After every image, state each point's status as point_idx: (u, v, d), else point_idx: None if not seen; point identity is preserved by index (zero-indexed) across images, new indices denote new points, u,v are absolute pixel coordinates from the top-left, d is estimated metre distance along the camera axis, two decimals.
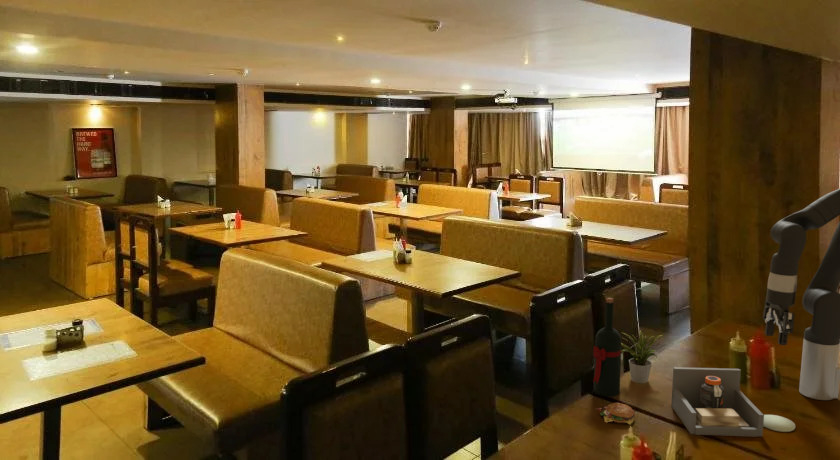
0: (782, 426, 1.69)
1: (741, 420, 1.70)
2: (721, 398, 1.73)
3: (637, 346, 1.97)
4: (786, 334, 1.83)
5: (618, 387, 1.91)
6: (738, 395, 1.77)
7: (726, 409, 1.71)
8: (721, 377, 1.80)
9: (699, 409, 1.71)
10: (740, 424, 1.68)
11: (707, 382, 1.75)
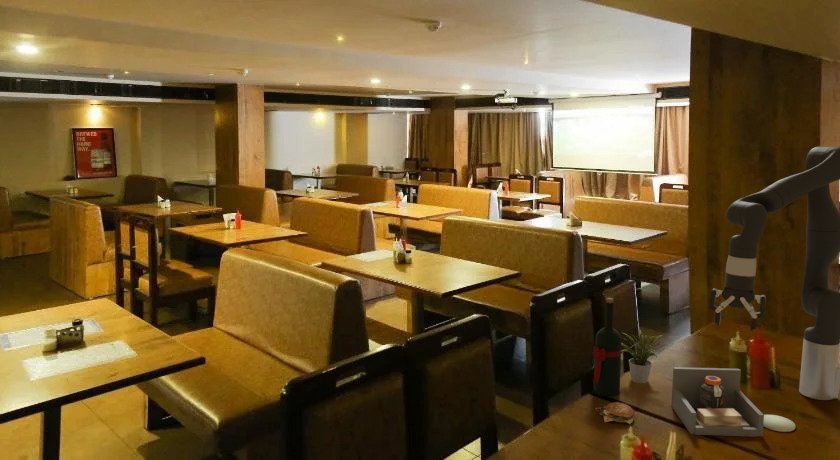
0: (782, 426, 1.69)
1: (741, 420, 1.70)
2: (721, 398, 1.73)
3: (637, 346, 1.97)
4: None
5: (618, 387, 1.91)
6: (738, 395, 1.77)
7: (727, 409, 1.71)
8: (721, 377, 1.80)
9: (701, 410, 1.71)
10: None
11: (707, 382, 1.75)
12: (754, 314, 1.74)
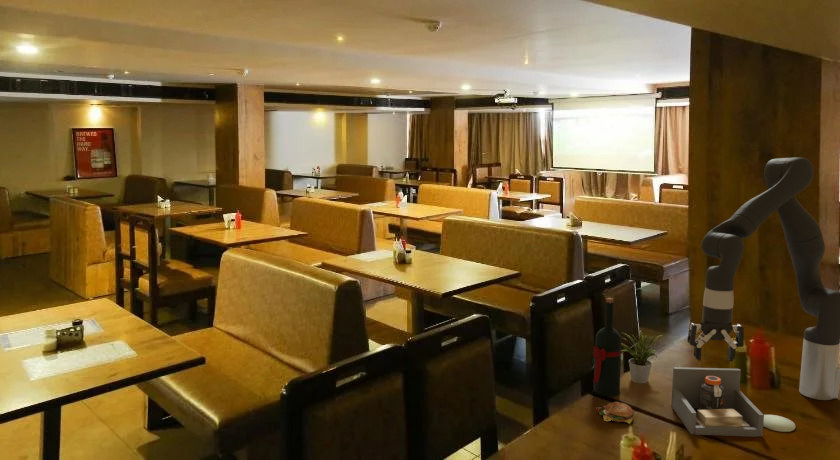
0: (782, 426, 1.69)
1: None
2: (721, 398, 1.73)
3: (637, 346, 1.97)
4: None
5: (618, 387, 1.91)
6: (738, 395, 1.77)
7: (728, 409, 1.71)
8: (721, 377, 1.80)
9: (702, 411, 1.70)
10: None
11: (707, 382, 1.75)
12: (734, 345, 1.72)
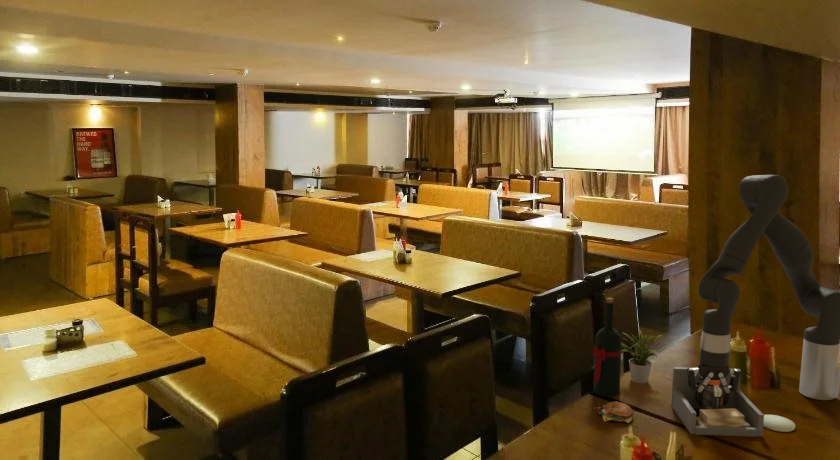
0: (782, 426, 1.69)
1: None
2: (721, 398, 1.73)
3: (637, 346, 1.97)
4: None
5: (618, 387, 1.91)
6: (738, 395, 1.77)
7: (730, 409, 1.71)
8: None
9: (704, 411, 1.70)
10: None
11: None
12: (727, 389, 1.74)
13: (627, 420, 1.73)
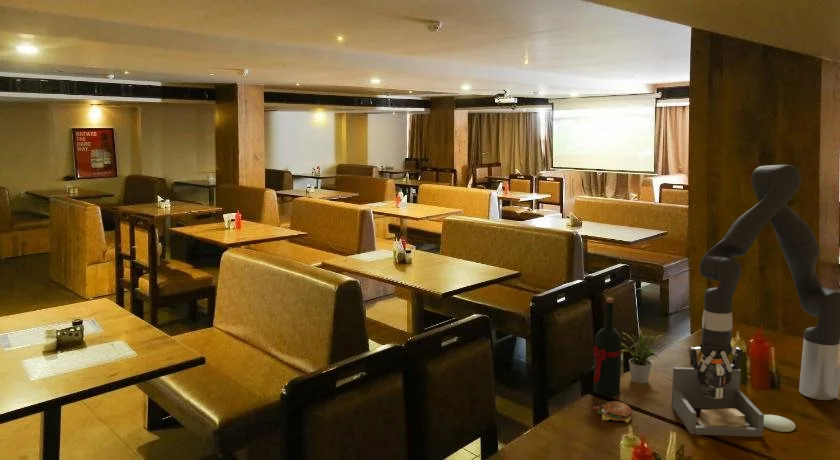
0: (782, 426, 1.69)
1: None
2: (723, 377, 1.72)
3: (637, 346, 1.97)
4: None
5: (618, 387, 1.91)
6: (738, 395, 1.77)
7: (730, 409, 1.71)
8: None
9: (705, 411, 1.70)
10: None
11: None
12: (730, 368, 1.73)
13: (626, 420, 1.74)
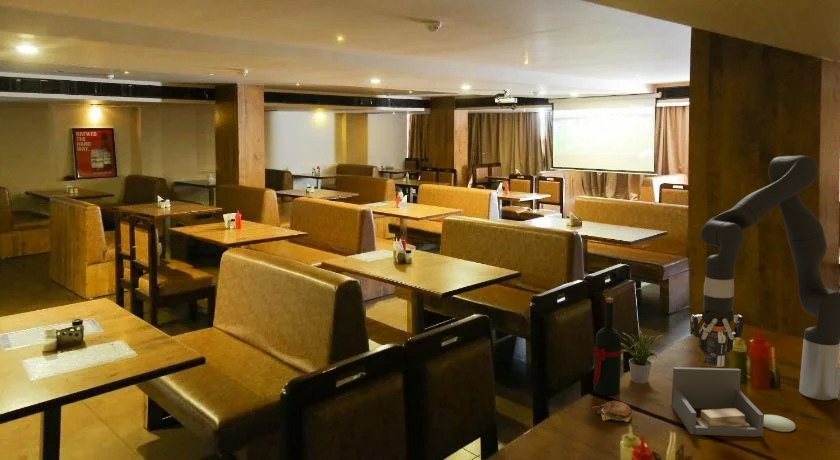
0: (782, 426, 1.69)
1: None
2: (725, 344, 1.71)
3: (637, 346, 1.97)
4: None
5: (618, 387, 1.91)
6: (738, 395, 1.77)
7: (730, 409, 1.71)
8: (721, 377, 1.80)
9: (705, 411, 1.70)
10: (741, 424, 1.68)
11: None
12: (731, 335, 1.72)
13: (626, 419, 1.74)
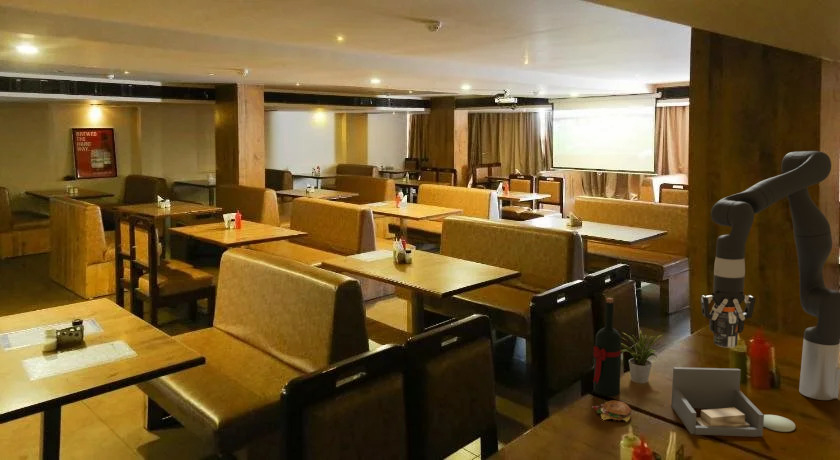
0: (782, 426, 1.69)
1: None
2: (736, 325, 1.69)
3: (637, 346, 1.97)
4: None
5: (618, 387, 1.91)
6: (738, 395, 1.77)
7: (729, 408, 1.71)
8: (721, 377, 1.80)
9: (705, 411, 1.70)
10: None
11: None
12: (742, 316, 1.70)
13: (625, 419, 1.74)
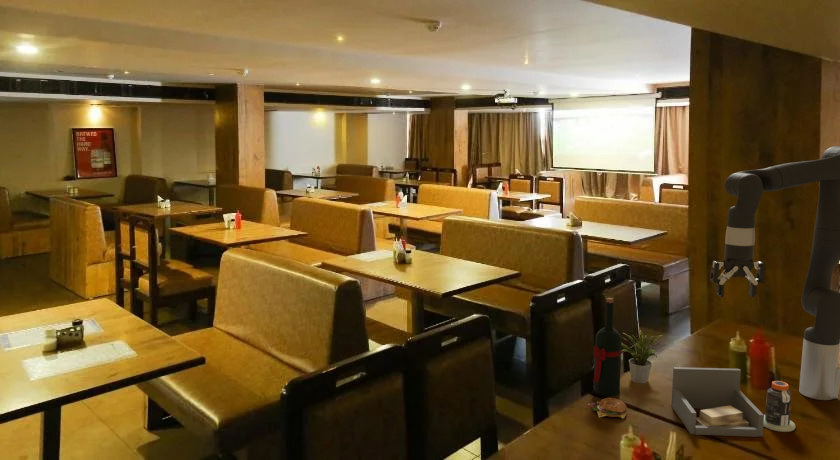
0: (782, 426, 1.69)
1: None
2: (789, 404, 1.68)
3: (637, 346, 1.97)
4: None
5: (618, 387, 1.91)
6: (738, 395, 1.77)
7: (726, 407, 1.72)
8: (721, 377, 1.80)
9: (704, 411, 1.70)
10: (740, 422, 1.69)
11: (774, 387, 1.69)
12: (755, 281, 1.79)
13: (622, 416, 1.76)
